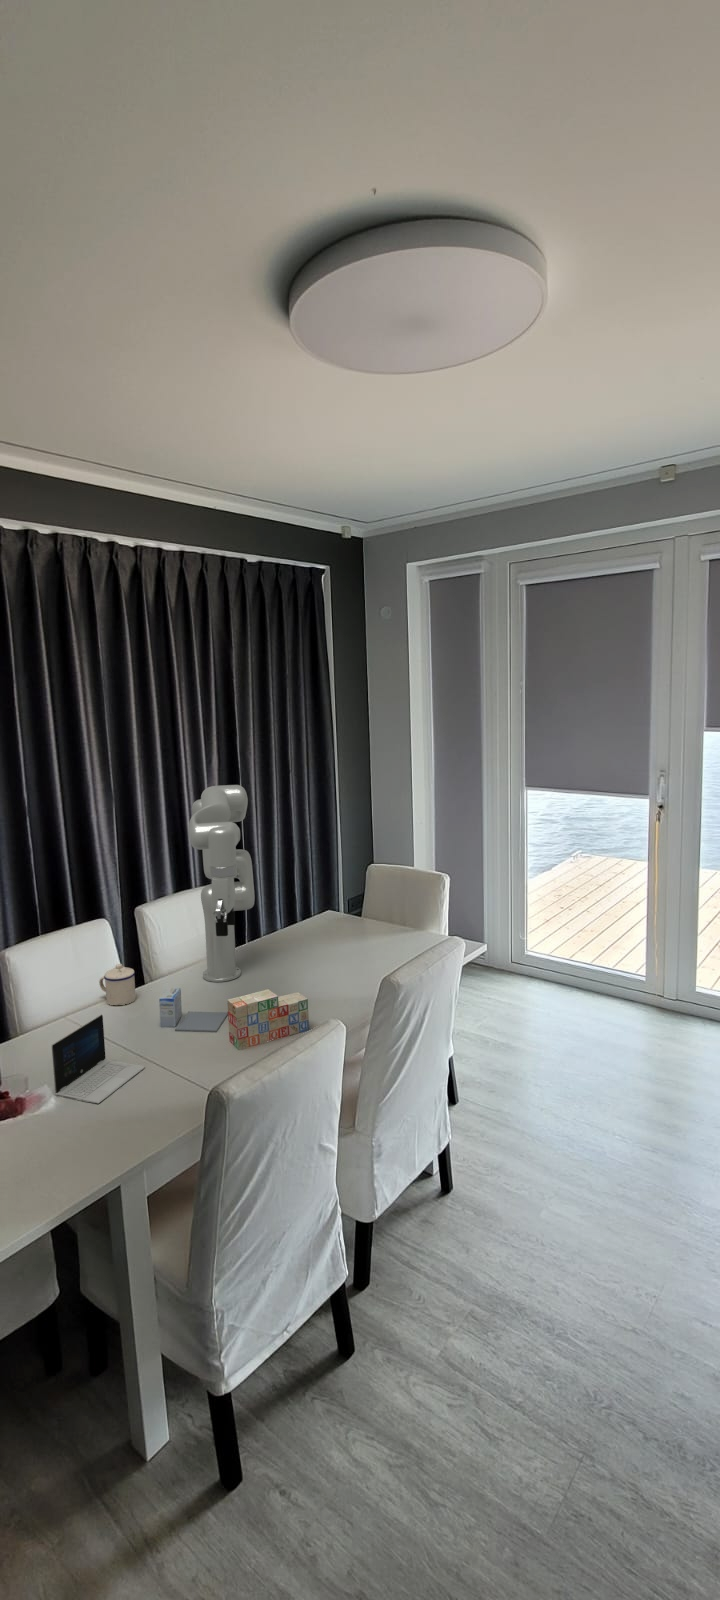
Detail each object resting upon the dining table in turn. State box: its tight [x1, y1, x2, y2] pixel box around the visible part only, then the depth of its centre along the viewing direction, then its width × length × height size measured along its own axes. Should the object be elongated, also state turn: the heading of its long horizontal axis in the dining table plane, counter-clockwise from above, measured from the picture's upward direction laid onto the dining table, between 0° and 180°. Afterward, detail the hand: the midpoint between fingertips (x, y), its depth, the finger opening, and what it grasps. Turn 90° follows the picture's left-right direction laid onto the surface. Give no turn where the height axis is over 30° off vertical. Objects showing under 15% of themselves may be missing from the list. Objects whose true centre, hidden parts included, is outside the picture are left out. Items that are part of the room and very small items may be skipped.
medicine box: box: [158, 987, 183, 1028], centre depth 214 cm, size 8×4×9 cm, turn 0°
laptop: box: [51, 1014, 146, 1104], centre depth 181 cm, size 18×12×13 cm
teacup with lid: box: [98, 963, 137, 1006], centre depth 230 cm, size 12×9×12 cm
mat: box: [174, 1010, 228, 1033], centre depth 214 cm, size 12×12×1 cm
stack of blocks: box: [227, 988, 310, 1051], centre depth 204 cm, size 21×6×12 cm, turn 122°
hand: (225, 930), depth 210 cm, fingers open, 9 cm apart
